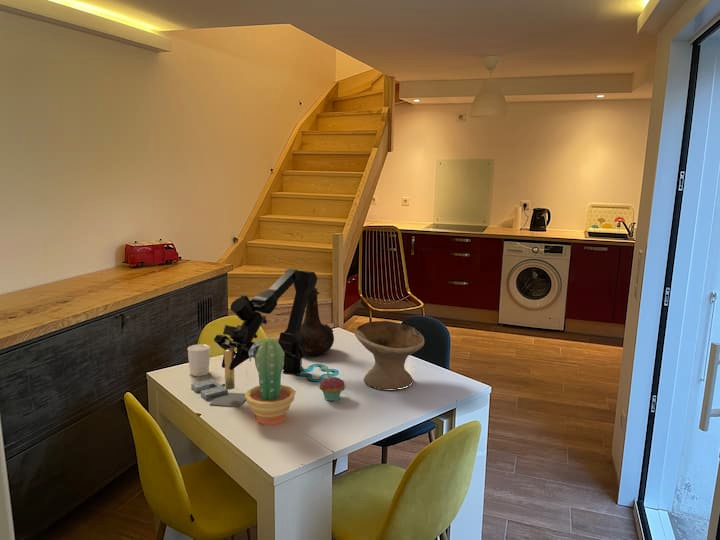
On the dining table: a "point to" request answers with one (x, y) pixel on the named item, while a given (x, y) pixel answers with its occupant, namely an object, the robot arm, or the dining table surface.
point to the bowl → (389, 352)
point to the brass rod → (229, 373)
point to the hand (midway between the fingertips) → (226, 368)
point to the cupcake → (331, 387)
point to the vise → (209, 389)
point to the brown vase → (315, 329)
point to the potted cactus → (269, 383)
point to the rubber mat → (229, 400)
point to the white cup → (199, 359)
